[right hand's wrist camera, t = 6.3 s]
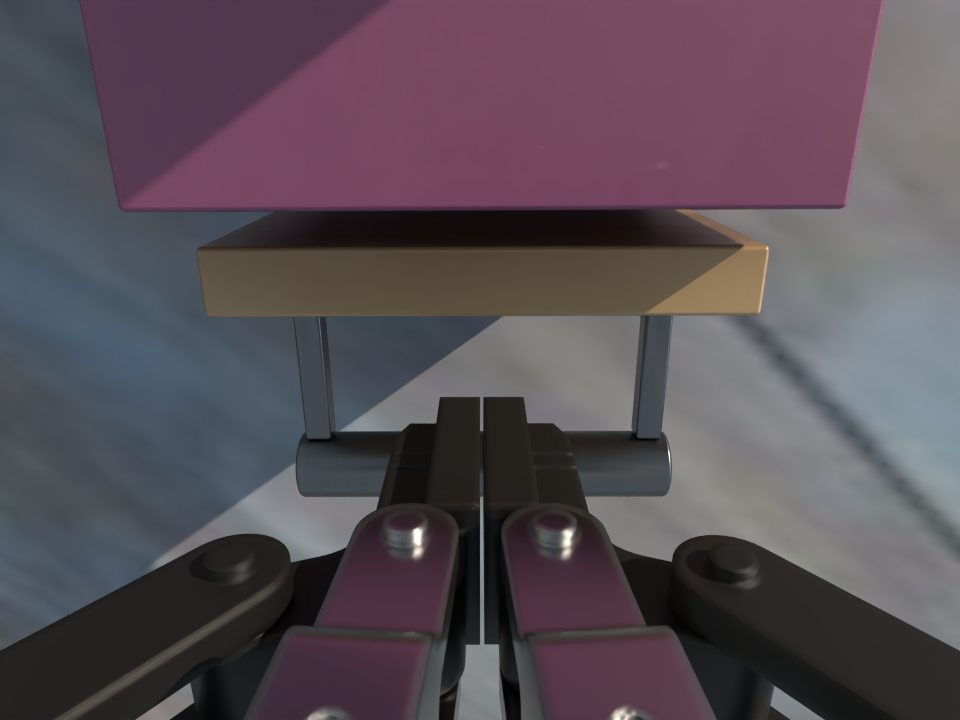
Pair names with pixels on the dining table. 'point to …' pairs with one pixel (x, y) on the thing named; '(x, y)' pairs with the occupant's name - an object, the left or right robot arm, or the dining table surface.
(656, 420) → the drawer
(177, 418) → the dining table surface
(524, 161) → the magenta rectangular box
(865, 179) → the dining table surface
